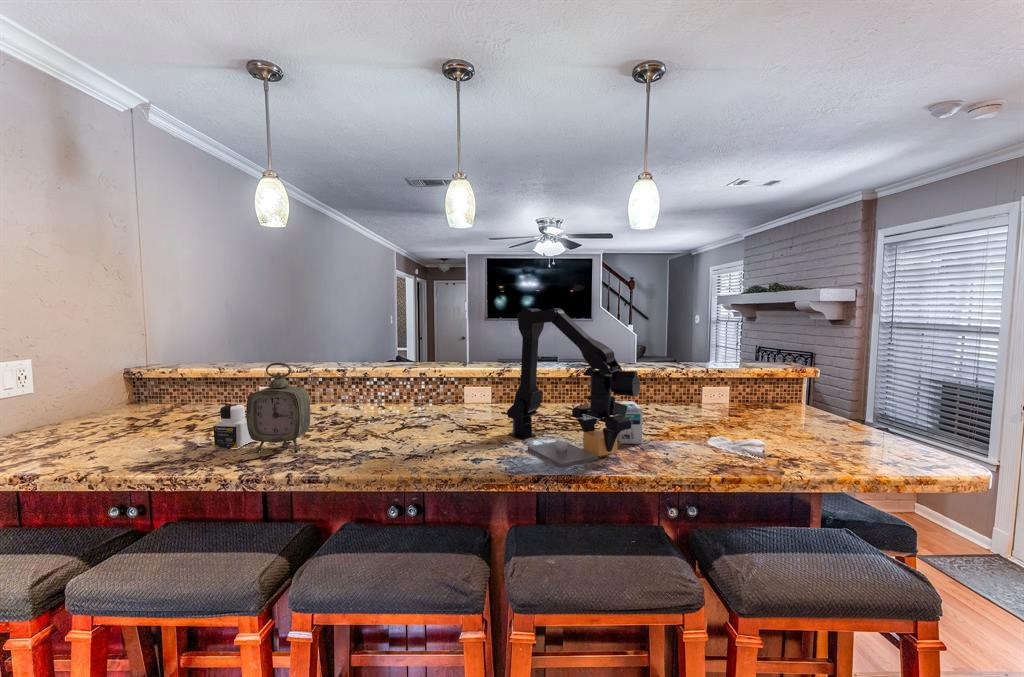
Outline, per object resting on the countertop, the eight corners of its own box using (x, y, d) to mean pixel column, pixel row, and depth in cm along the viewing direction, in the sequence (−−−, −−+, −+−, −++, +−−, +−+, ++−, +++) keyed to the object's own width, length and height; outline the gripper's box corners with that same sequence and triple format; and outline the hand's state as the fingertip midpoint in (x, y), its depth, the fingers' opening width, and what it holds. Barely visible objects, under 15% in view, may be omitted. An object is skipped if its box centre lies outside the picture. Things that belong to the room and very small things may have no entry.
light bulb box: (642, 444, 134) (643, 408, 133) (619, 444, 134) (620, 408, 133) (633, 434, 144) (634, 400, 144) (612, 433, 145) (612, 400, 144)
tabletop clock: (247, 455, 125) (243, 364, 123) (264, 444, 134) (260, 360, 132) (301, 454, 126) (297, 364, 124) (314, 444, 135) (311, 360, 133)
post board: (527, 450, 129) (527, 436, 128) (562, 443, 134) (562, 430, 134) (561, 467, 115) (561, 452, 114) (597, 459, 121) (598, 444, 120)
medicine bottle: (214, 449, 130) (211, 407, 130) (232, 441, 138) (230, 402, 137) (236, 450, 130) (234, 408, 129) (253, 442, 137) (252, 403, 136)
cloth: (703, 437, 143) (703, 429, 143) (782, 444, 136) (783, 436, 136) (707, 458, 124) (708, 449, 124) (800, 467, 117) (801, 458, 116)
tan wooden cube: (583, 449, 129) (583, 432, 128) (601, 446, 132) (601, 429, 132) (598, 456, 123) (598, 438, 123) (617, 452, 126) (617, 434, 126)
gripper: (647, 395, 122) (645, 452, 123) (600, 384, 138) (600, 435, 139) (615, 399, 117) (614, 459, 118) (571, 388, 133) (570, 440, 134)
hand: (600, 447), depth 127 cm, fingers open, 7 cm apart
